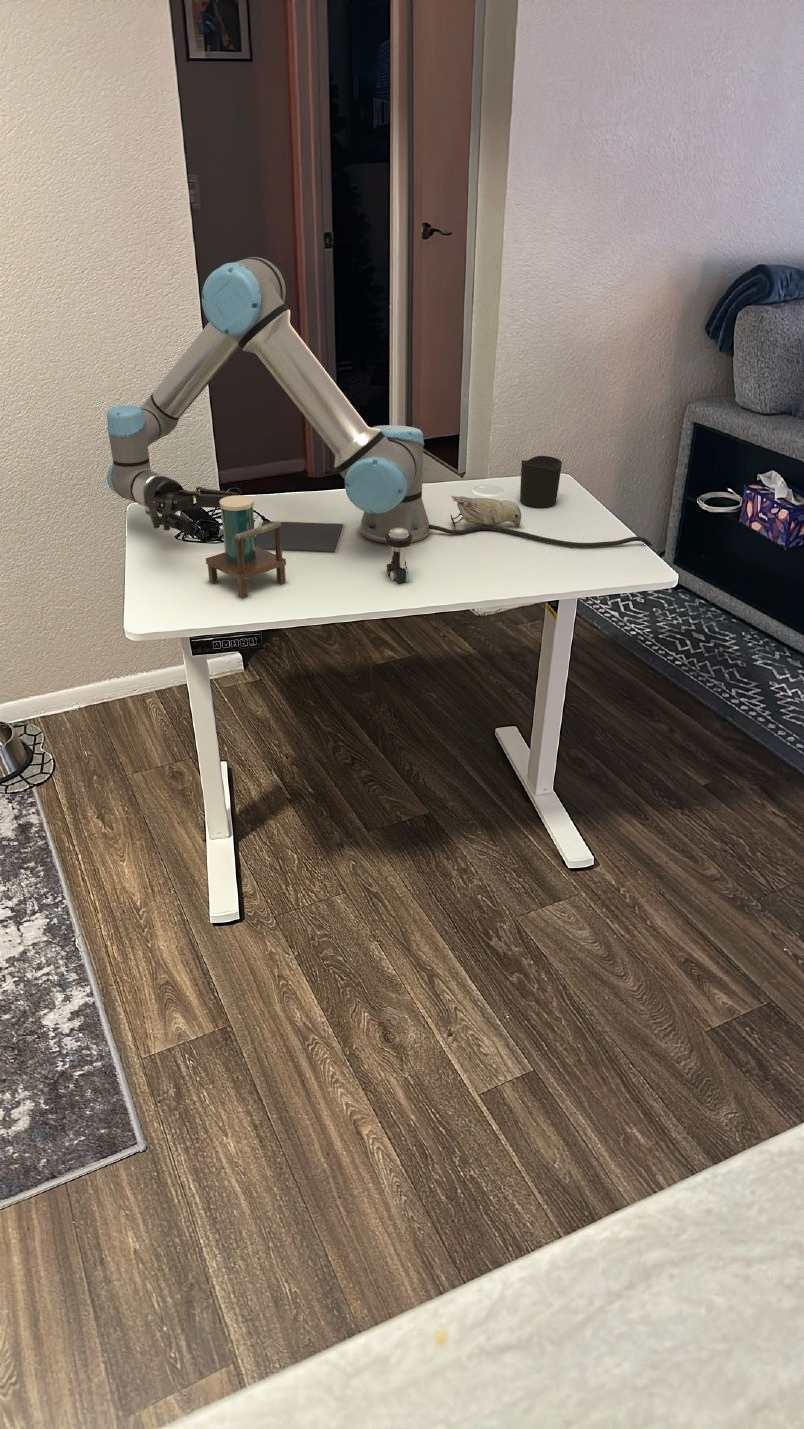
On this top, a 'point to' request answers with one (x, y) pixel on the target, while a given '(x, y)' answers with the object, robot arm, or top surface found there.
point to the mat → (301, 537)
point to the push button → (398, 553)
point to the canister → (238, 526)
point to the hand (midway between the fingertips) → (220, 519)
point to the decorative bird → (487, 511)
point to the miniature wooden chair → (251, 568)
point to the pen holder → (540, 481)
